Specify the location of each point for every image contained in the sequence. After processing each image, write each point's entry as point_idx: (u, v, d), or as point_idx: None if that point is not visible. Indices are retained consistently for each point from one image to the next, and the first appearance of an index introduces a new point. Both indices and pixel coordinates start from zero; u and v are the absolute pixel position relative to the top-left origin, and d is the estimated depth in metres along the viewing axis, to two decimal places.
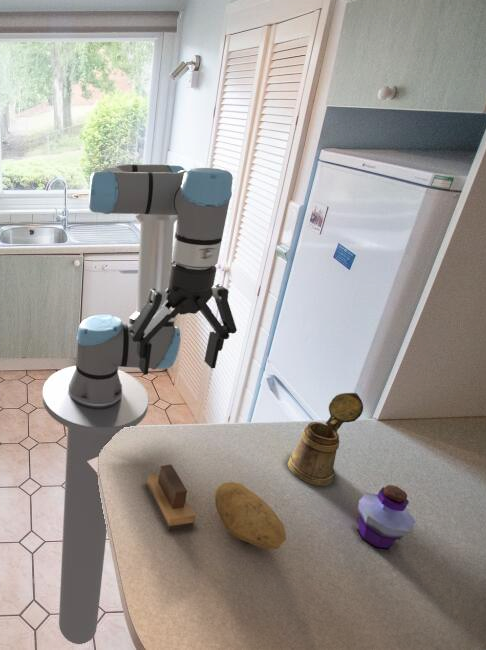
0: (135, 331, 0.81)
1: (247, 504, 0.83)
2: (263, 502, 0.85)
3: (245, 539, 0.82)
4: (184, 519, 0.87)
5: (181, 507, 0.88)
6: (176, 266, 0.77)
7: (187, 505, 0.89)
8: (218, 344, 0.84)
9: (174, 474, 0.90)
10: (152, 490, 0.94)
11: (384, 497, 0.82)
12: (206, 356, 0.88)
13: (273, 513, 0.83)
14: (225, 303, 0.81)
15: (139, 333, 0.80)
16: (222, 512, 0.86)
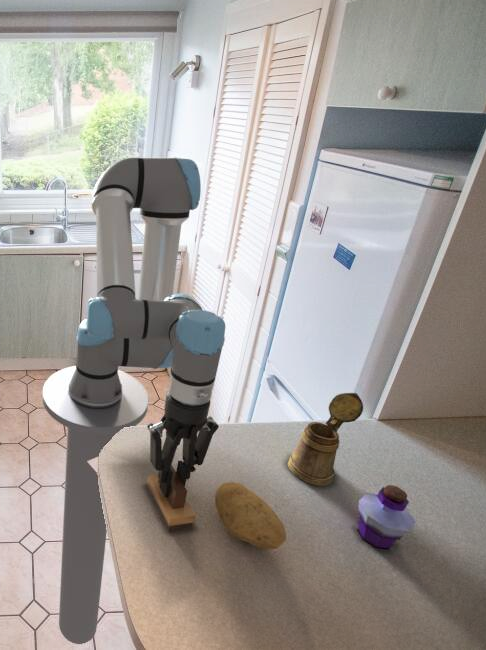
0: (154, 463, 0.85)
1: (247, 504, 0.83)
2: (263, 502, 0.85)
3: (245, 539, 0.82)
4: (184, 519, 0.87)
5: (181, 507, 0.88)
6: (171, 399, 0.80)
7: (187, 505, 0.89)
8: (185, 475, 0.87)
9: (174, 474, 0.90)
10: (152, 490, 0.94)
11: (384, 497, 0.82)
12: None
13: (273, 513, 0.83)
14: (209, 436, 0.84)
15: (158, 464, 0.85)
16: (222, 512, 0.86)
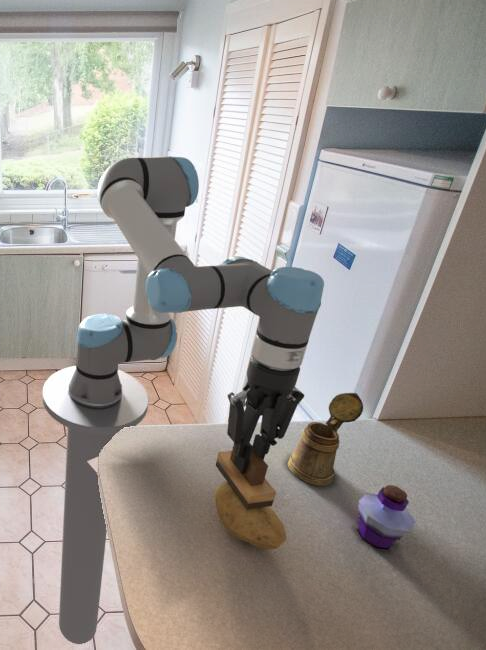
0: (233, 435, 0.80)
1: None
2: None
3: (245, 539, 0.82)
4: (265, 496, 0.81)
5: (260, 484, 0.82)
6: (258, 364, 0.74)
7: (266, 482, 0.83)
8: (265, 449, 0.82)
9: None
10: (224, 467, 0.88)
11: (384, 497, 0.82)
12: None
13: (273, 513, 0.83)
14: (294, 407, 0.79)
15: (238, 436, 0.79)
16: (222, 512, 0.86)
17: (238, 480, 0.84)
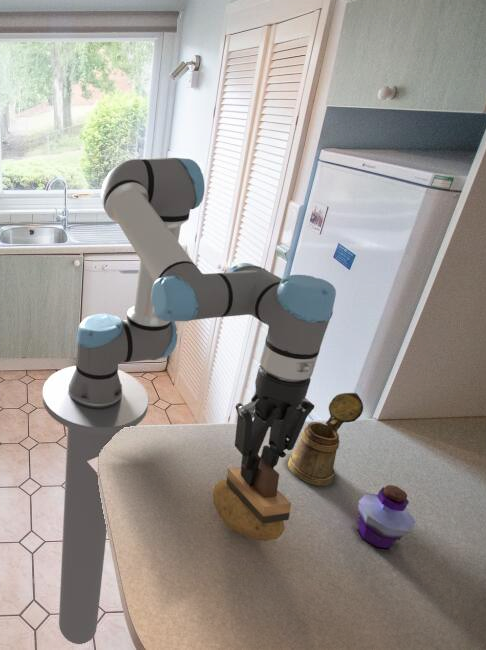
0: (241, 447, 0.78)
1: None
2: None
3: (244, 531, 0.82)
4: (279, 508, 0.77)
5: (273, 496, 0.79)
6: (267, 375, 0.72)
7: (279, 494, 0.79)
8: (274, 461, 0.80)
9: None
10: (235, 483, 0.85)
11: (384, 497, 0.82)
12: None
13: None
14: (303, 418, 0.77)
15: (246, 448, 0.77)
16: (220, 507, 0.86)
17: (250, 493, 0.80)
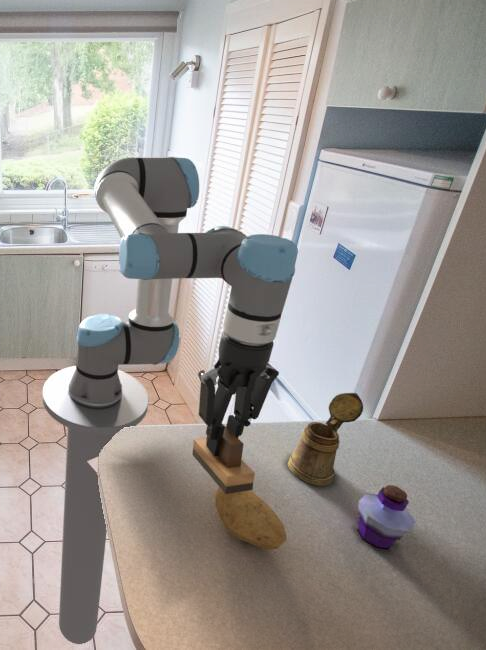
0: (204, 416, 0.75)
1: (247, 504, 0.83)
2: (263, 502, 0.85)
3: (245, 539, 0.82)
4: (243, 478, 0.75)
5: (237, 466, 0.77)
6: (229, 340, 0.70)
7: (244, 464, 0.78)
8: (238, 430, 0.78)
9: (226, 429, 0.80)
10: (200, 454, 0.83)
11: (384, 497, 0.82)
12: None
13: (273, 513, 0.83)
14: (268, 385, 0.74)
15: (209, 417, 0.75)
16: (222, 513, 0.86)
17: (214, 463, 0.78)
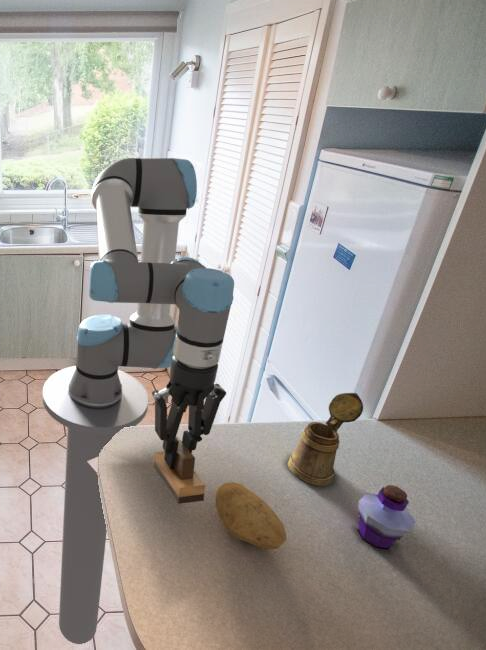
0: (159, 432, 0.82)
1: (247, 504, 0.83)
2: (263, 502, 0.85)
3: (245, 539, 0.82)
4: (194, 489, 0.82)
5: (190, 478, 0.83)
6: (177, 363, 0.77)
7: (196, 476, 0.84)
8: (191, 445, 0.84)
9: (181, 444, 0.86)
10: (159, 466, 0.89)
11: (384, 497, 0.82)
12: None
13: (273, 513, 0.83)
14: (216, 404, 0.81)
15: (163, 432, 0.82)
16: (222, 513, 0.86)
17: (170, 475, 0.85)
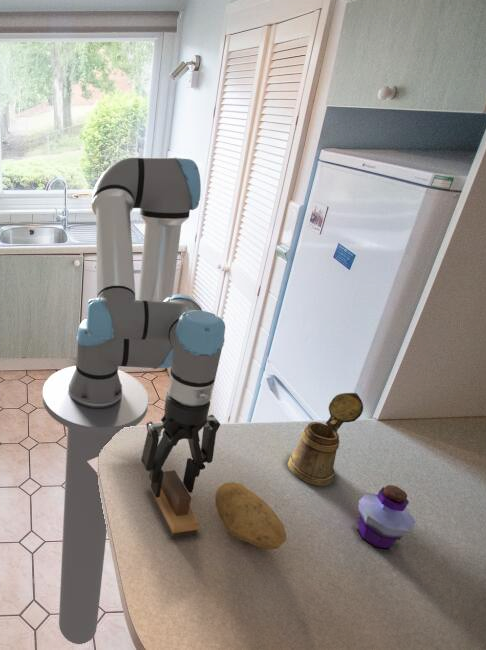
0: (146, 462, 0.85)
1: (247, 504, 0.83)
2: (263, 502, 0.85)
3: (245, 539, 0.82)
4: (188, 526, 0.85)
5: (185, 514, 0.87)
6: (171, 399, 0.80)
7: (191, 512, 0.87)
8: (195, 473, 0.88)
9: (178, 480, 0.89)
10: None
11: (384, 497, 0.82)
12: (184, 479, 0.91)
13: (273, 513, 0.83)
14: (213, 435, 0.84)
15: (149, 463, 0.85)
16: (222, 513, 0.86)
17: (165, 510, 0.88)
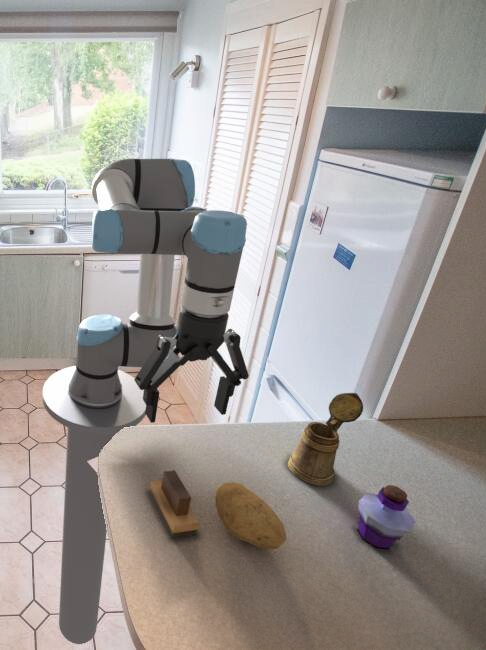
0: (142, 379, 0.76)
1: (247, 504, 0.83)
2: (263, 502, 0.85)
3: (245, 539, 0.82)
4: (188, 526, 0.85)
5: (185, 514, 0.87)
6: (186, 313, 0.73)
7: (191, 512, 0.87)
8: (229, 390, 0.80)
9: (178, 480, 0.89)
10: (155, 496, 0.92)
11: (384, 497, 0.82)
12: (216, 401, 0.84)
13: (273, 513, 0.83)
14: (237, 349, 0.77)
15: (146, 381, 0.76)
16: (222, 513, 0.86)
17: (165, 510, 0.88)
